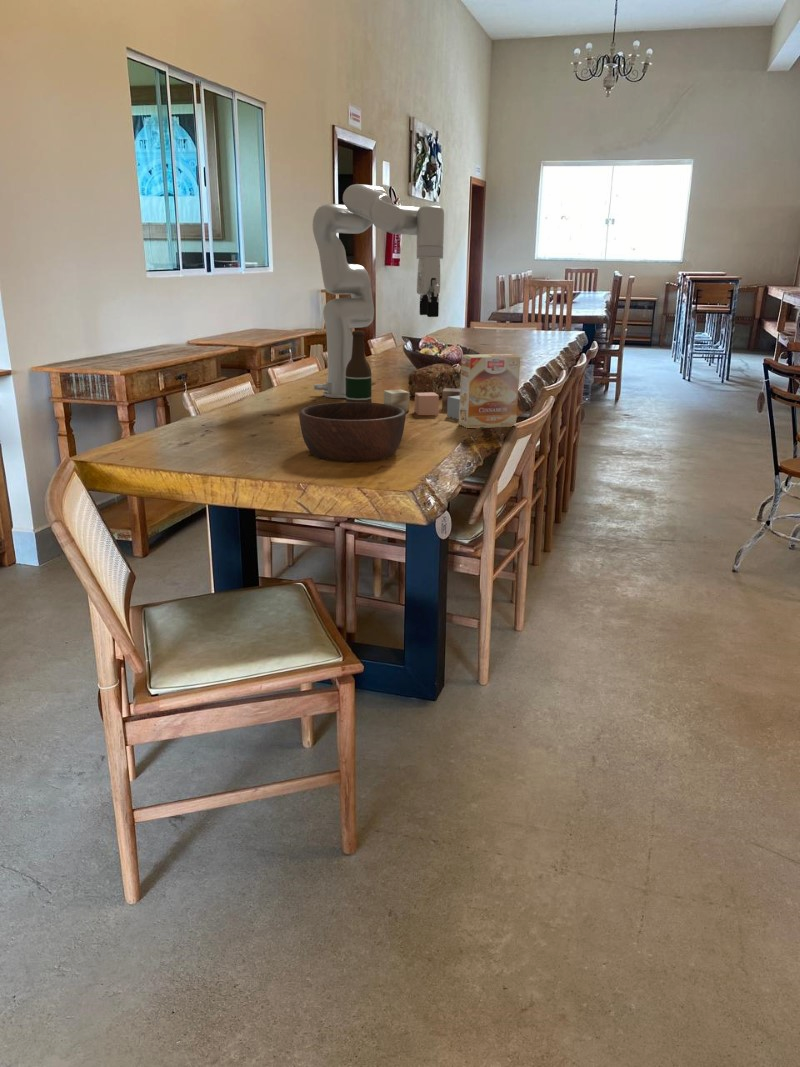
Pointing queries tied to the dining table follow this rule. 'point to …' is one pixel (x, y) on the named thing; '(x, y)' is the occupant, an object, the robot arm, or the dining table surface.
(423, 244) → the robot arm
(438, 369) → the bread
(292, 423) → the dining table surface
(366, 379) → the beer bottle
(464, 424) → the coffeecake box
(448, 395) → the walnut block
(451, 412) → the slate block
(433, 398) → the terracotta block
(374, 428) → the wooden bowl
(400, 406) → the beech block
